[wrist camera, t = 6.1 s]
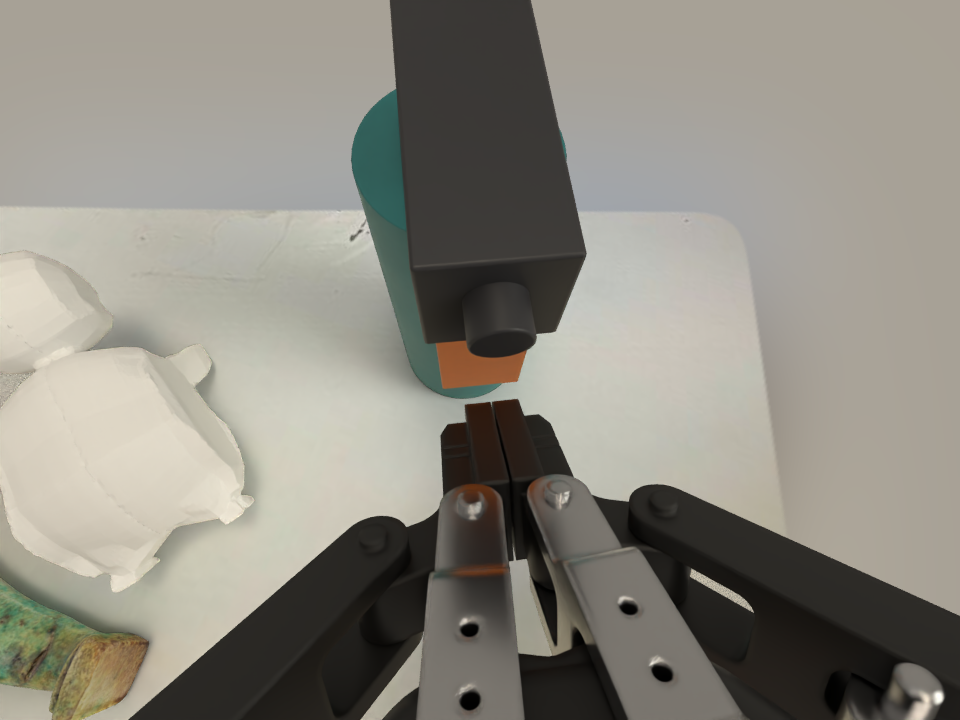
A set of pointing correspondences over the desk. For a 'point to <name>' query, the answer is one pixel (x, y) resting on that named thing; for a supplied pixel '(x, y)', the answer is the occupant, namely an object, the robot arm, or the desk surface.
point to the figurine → (64, 657)
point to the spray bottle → (469, 184)
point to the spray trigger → (475, 366)
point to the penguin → (102, 432)
